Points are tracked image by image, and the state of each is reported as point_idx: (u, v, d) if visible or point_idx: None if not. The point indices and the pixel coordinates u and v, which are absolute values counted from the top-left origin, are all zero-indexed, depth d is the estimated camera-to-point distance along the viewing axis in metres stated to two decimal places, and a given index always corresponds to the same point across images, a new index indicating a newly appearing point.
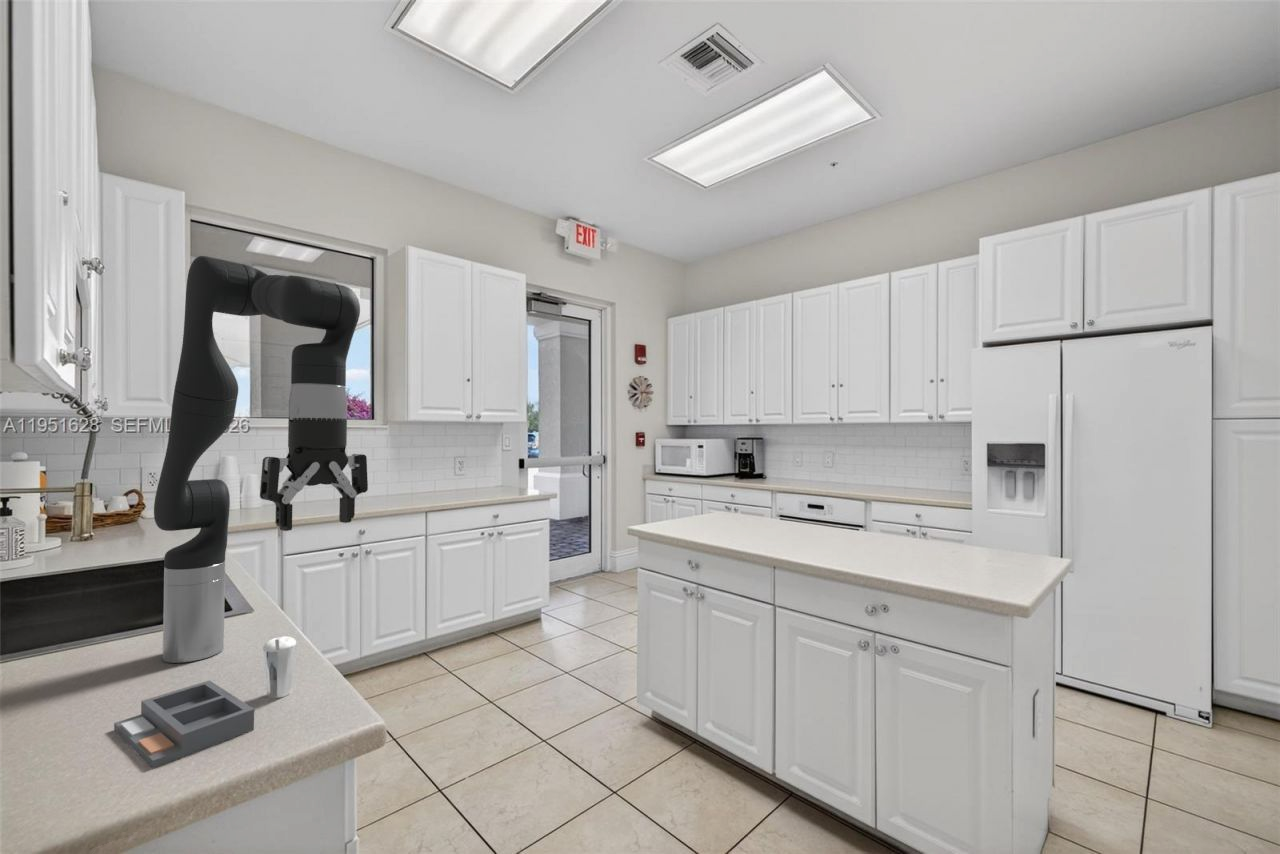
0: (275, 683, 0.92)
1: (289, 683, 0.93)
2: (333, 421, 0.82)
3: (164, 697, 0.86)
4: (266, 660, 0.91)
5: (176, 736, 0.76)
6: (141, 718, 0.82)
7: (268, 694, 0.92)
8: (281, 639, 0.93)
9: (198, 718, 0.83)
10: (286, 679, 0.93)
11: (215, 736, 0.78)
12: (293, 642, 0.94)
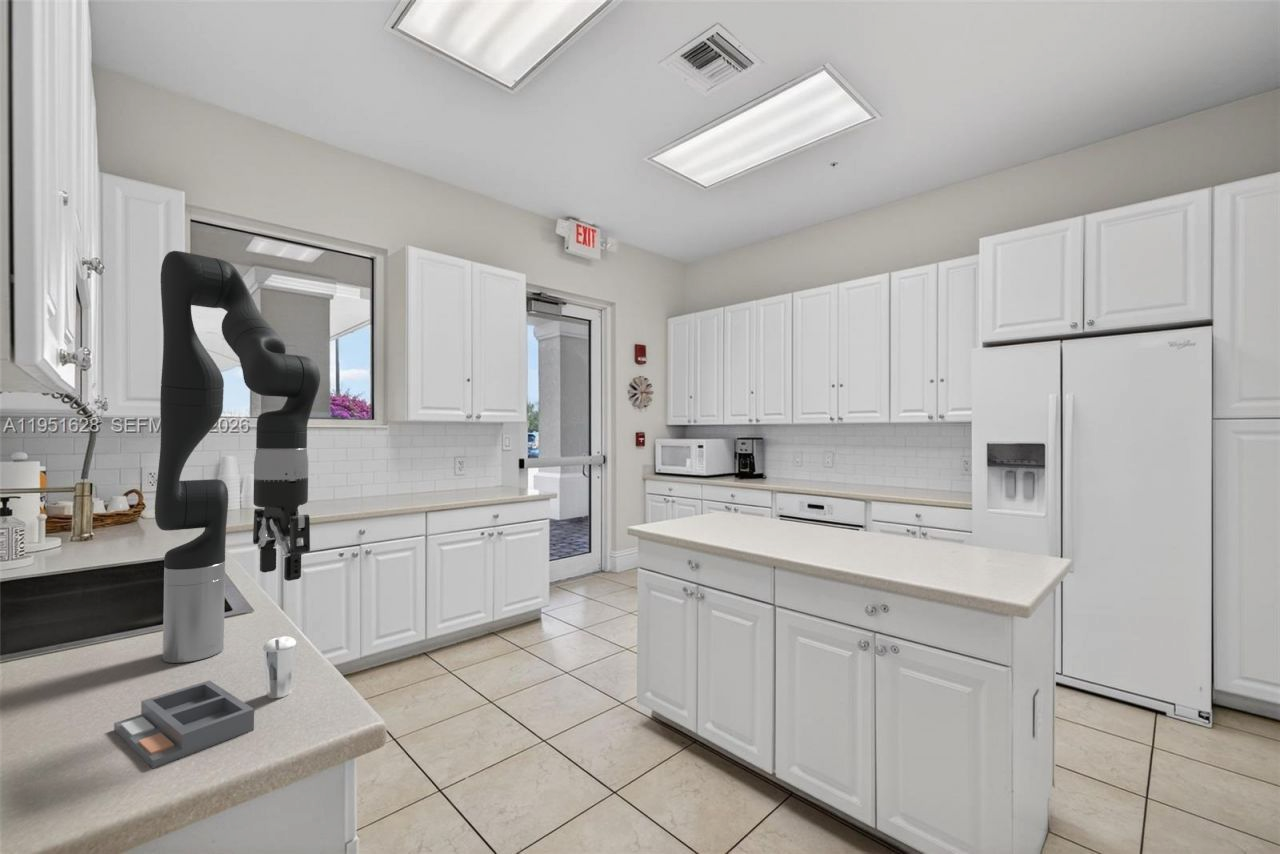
0: (275, 683, 0.92)
1: (289, 683, 0.93)
2: None
3: (164, 697, 0.86)
4: (266, 660, 0.91)
5: (176, 736, 0.76)
6: (141, 718, 0.82)
7: (268, 694, 0.92)
8: (281, 639, 0.93)
9: (198, 718, 0.83)
10: (286, 679, 0.93)
11: (215, 736, 0.78)
12: (293, 642, 0.94)
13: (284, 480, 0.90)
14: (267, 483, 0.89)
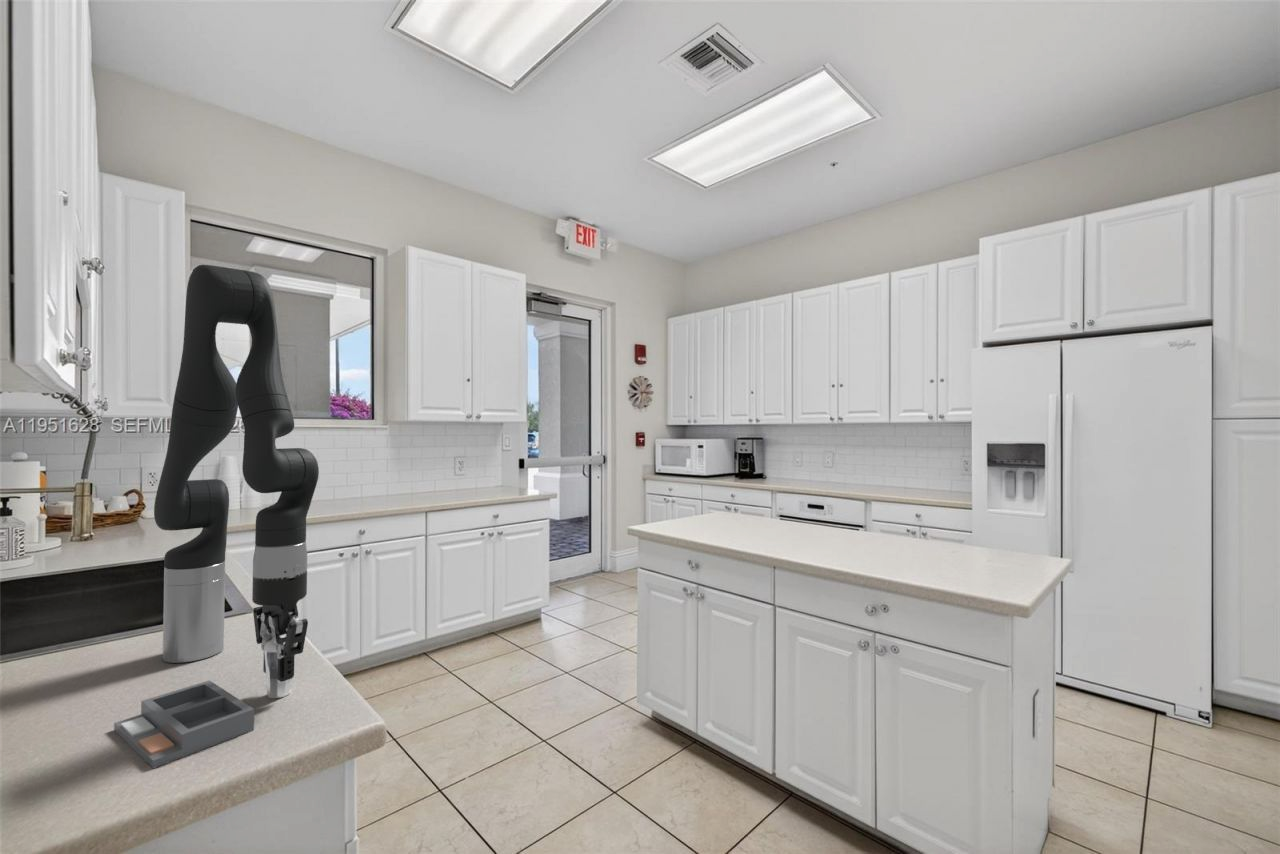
0: (275, 683, 0.91)
1: (289, 683, 0.93)
2: None
3: (164, 697, 0.86)
4: (267, 660, 0.91)
5: (176, 736, 0.76)
6: (141, 718, 0.82)
7: (268, 694, 0.92)
8: None
9: (198, 718, 0.83)
10: None
11: (215, 736, 0.78)
12: None
13: (283, 578, 0.90)
14: (266, 582, 0.89)
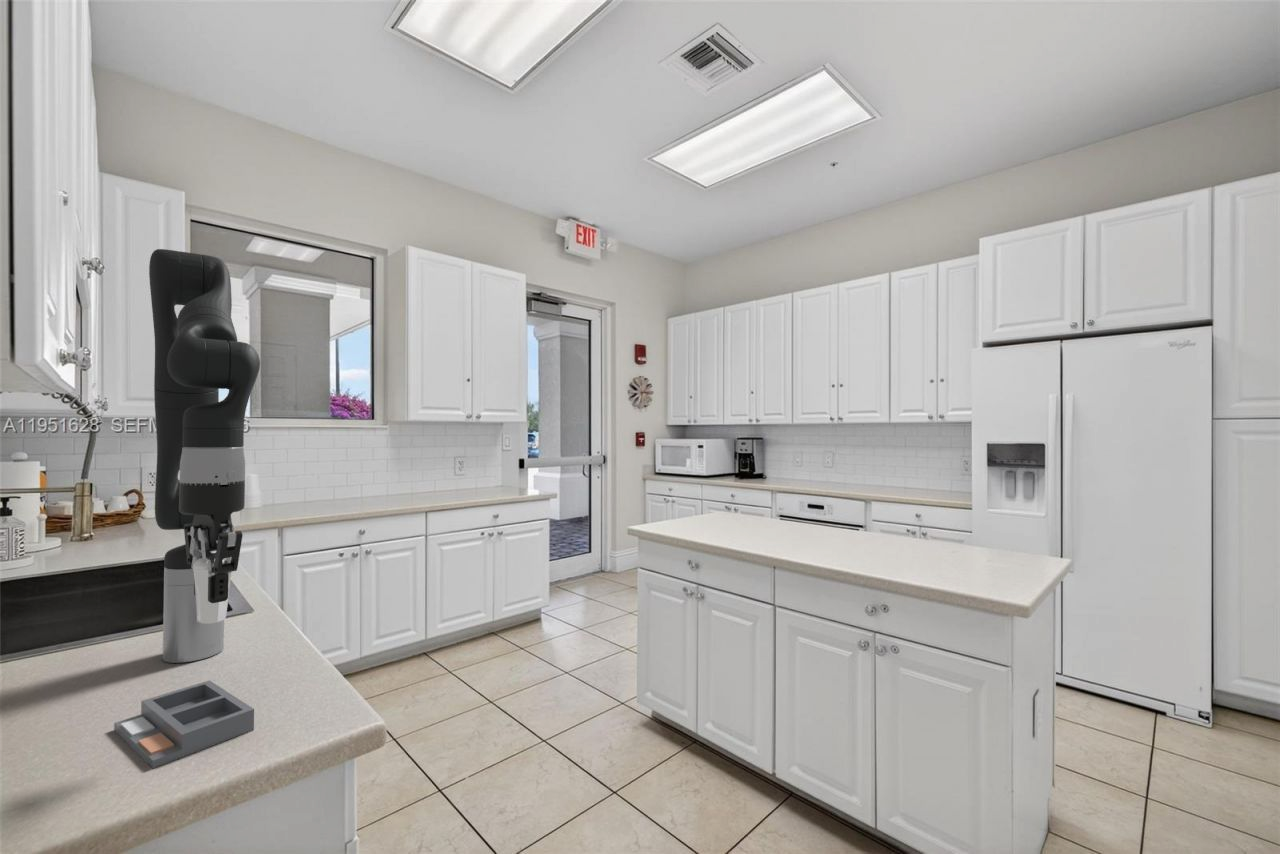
0: (206, 606, 0.80)
1: (223, 607, 0.82)
2: None
3: (164, 697, 0.86)
4: (196, 579, 0.80)
5: (176, 736, 0.76)
6: (141, 718, 0.82)
7: (198, 618, 0.80)
8: None
9: (198, 718, 0.83)
10: (220, 602, 0.81)
11: (215, 736, 0.78)
12: None
13: (214, 484, 0.79)
14: (193, 487, 0.78)
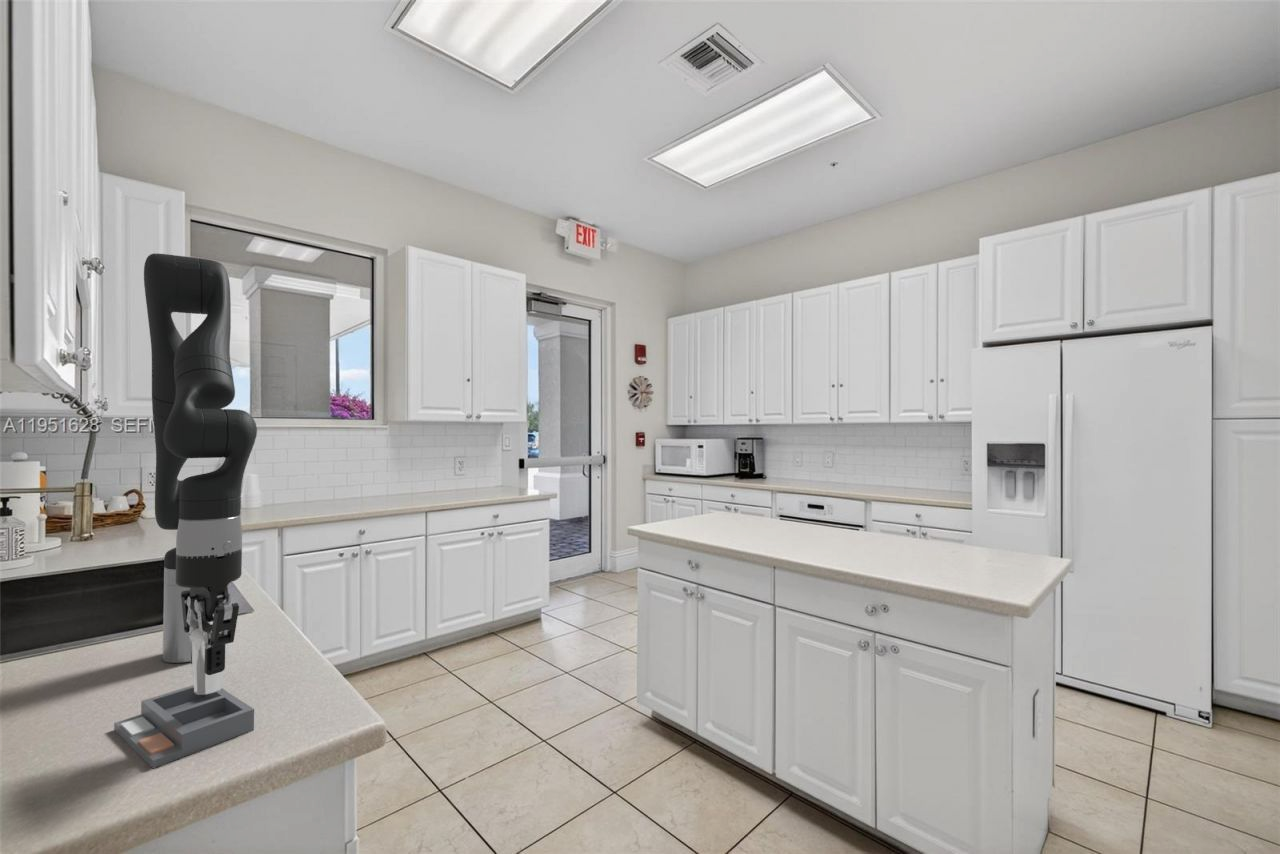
0: (203, 677, 0.80)
1: (220, 677, 0.81)
2: None
3: (164, 697, 0.86)
4: (193, 650, 0.80)
5: (176, 736, 0.76)
6: (141, 718, 0.82)
7: (195, 689, 0.80)
8: None
9: (198, 718, 0.83)
10: None
11: (215, 736, 0.78)
12: None
13: (210, 556, 0.78)
14: (190, 560, 0.78)
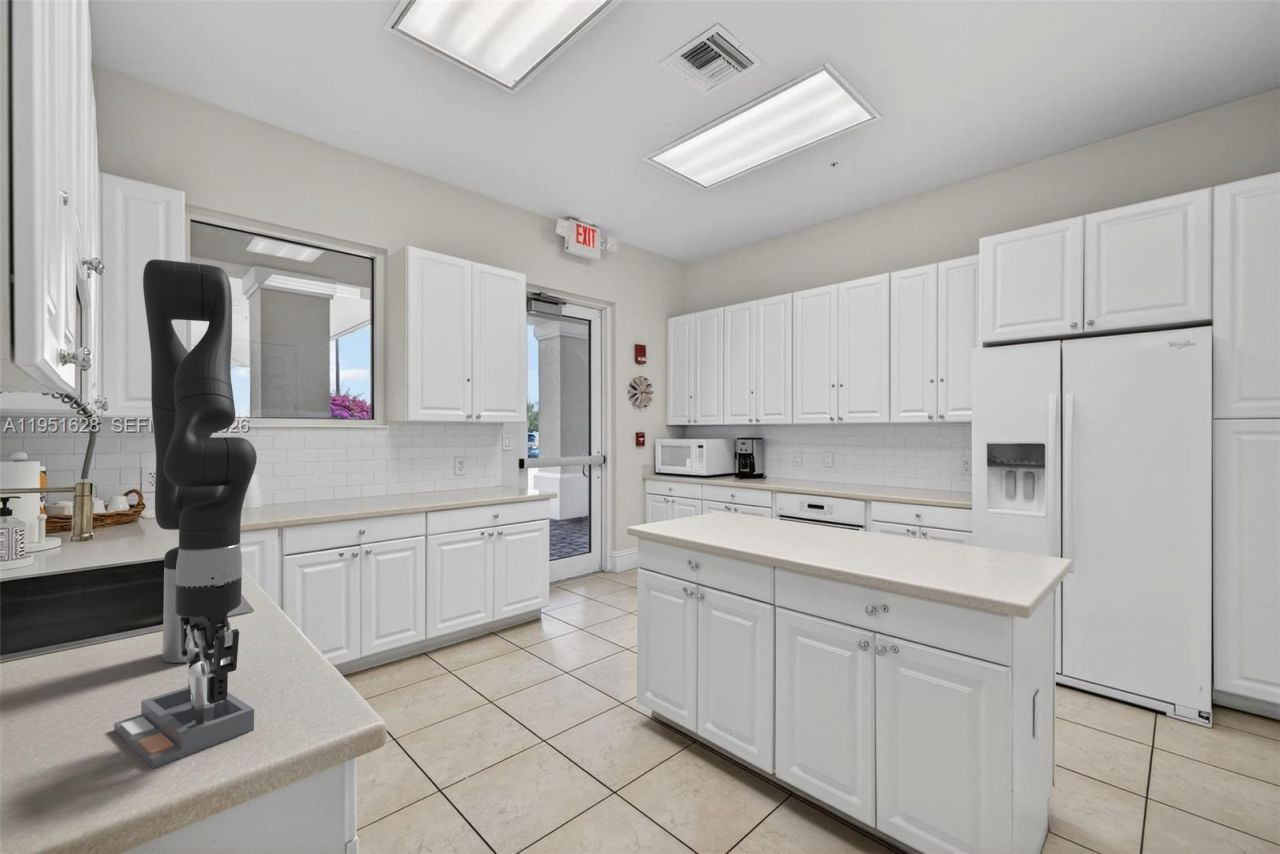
0: (201, 713, 0.80)
1: (219, 712, 0.81)
2: None
3: (164, 697, 0.86)
4: (191, 686, 0.80)
5: (176, 736, 0.76)
6: (141, 718, 0.82)
7: (193, 725, 0.80)
8: None
9: None
10: (215, 707, 0.81)
11: (215, 736, 0.78)
12: None
13: (210, 585, 0.78)
14: (190, 590, 0.78)
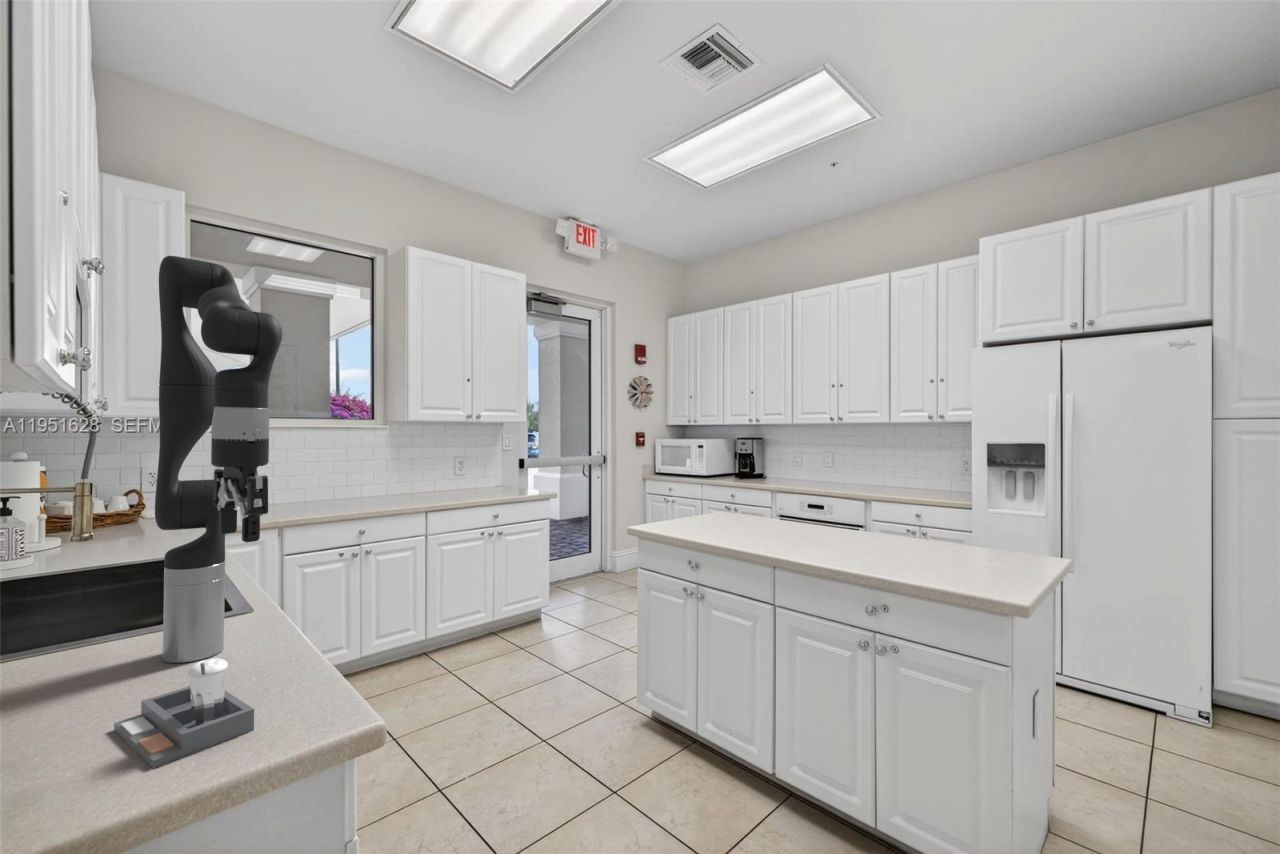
0: (201, 713, 0.80)
1: (219, 712, 0.81)
2: None
3: (164, 697, 0.86)
4: (191, 686, 0.80)
5: (176, 736, 0.76)
6: (141, 718, 0.82)
7: (193, 725, 0.80)
8: (209, 662, 0.81)
9: None
10: (215, 707, 0.81)
11: (215, 736, 0.78)
12: (223, 665, 0.82)
13: (242, 440, 0.88)
14: (224, 442, 0.87)
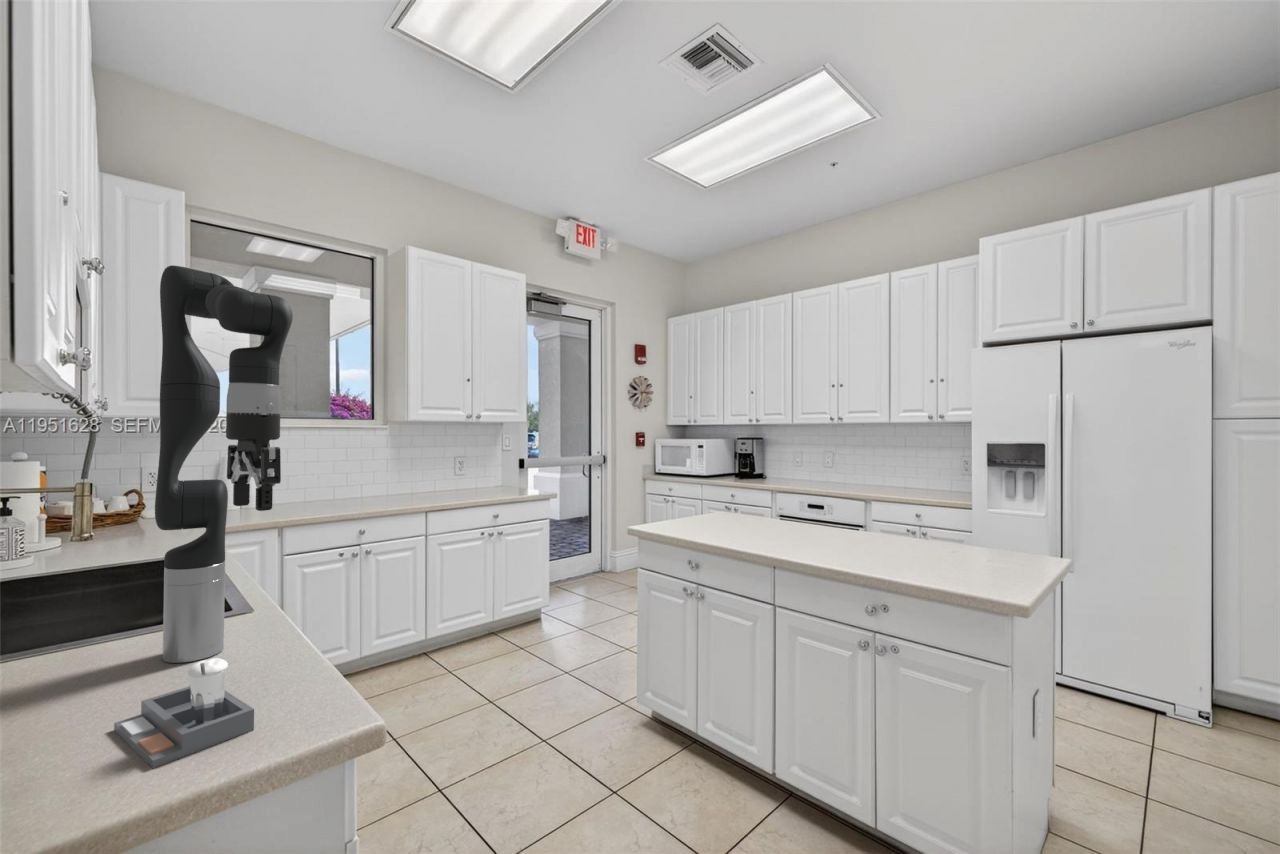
0: (201, 713, 0.80)
1: (219, 712, 0.81)
2: None
3: (164, 697, 0.86)
4: (191, 686, 0.80)
5: (176, 736, 0.76)
6: (141, 718, 0.82)
7: (193, 725, 0.80)
8: (209, 662, 0.81)
9: None
10: (215, 707, 0.81)
11: (215, 736, 0.78)
12: (223, 665, 0.82)
13: (256, 413, 0.93)
14: (239, 416, 0.92)
